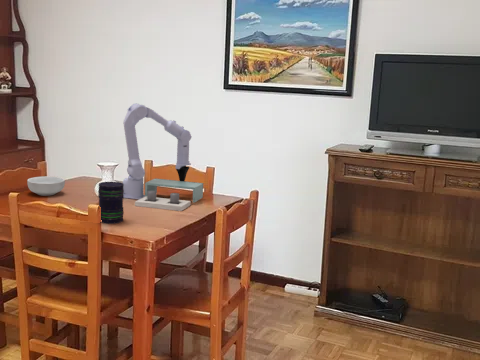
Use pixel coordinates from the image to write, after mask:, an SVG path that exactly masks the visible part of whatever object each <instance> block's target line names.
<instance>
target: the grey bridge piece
mask: <svg viewBox="0 0 480 360" xmlns="http://www.w3.org/2000/svg"><path fill="white" fill-rule="evenodd" d="M144 186H145V187H144V195H145V196H147V191H156V194H158V187H162V188H163V187H165V188H173V189H182V190H183V189H184V190H192V203H196V202H198V201H200V200H201V199H203V198H204V197H203V196H204V182H194V181H186V180H185V181H180V180H176V179H164V178H156V177H155V178H153V179H151V180H149V181H145V184H144Z"/></svg>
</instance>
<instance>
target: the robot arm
mask: <svg viewBox="0 0 480 360" xmlns="http://www.w3.org/2000/svg"><path fill="white" fill-rule="evenodd" d="M126 111H127V112H126V115H125V116H124V119H123V130H124V135H125V136H124V137H125V142H126V149H127V154H128V156H127V157H128V160H127V169H126V171H127V174H128V177H125V178H124V179H123V180H122V183H123V184H124V186H123V188H124V193H123V195H124V196H123V199H134V200H139V199H141V198H143V197H145V194H144V177H145V175H146V172H145V169H144V167H143V164H142V161H141V159H140V153H139V145H138V140H137V139H138V138H137V131H136V125H137V124H138V123H139V122H140V121H141V120H143V119H144V118H147V119H149V118H150V119H151V120H152V121H155V122H156V123H158V124H160V125H161V126H163V129H164V131H166V132H167V133H168V134H170V135H171V136H173V137H175V138H176V139H177V148H176V149H177V150H176V151H177V152H176V164H175V170H176V172H177V175H178V179H179V180H178V181H186V178H187V177H186V176H187V174H188V171H189V170H190V167H189V166H191V165H192V163H190V159H189V158H190V141H191V139H192V134H191V132H190V131H189V130H187V129H185V128H184V126H181V125H180V124H178V123H177V121H176V120H172V119H170V120H167V119H166V118H164V117H163V116H162V115H160V114H159V113H158V112H156V111H155V110H153V109H151V108H149V106H148V107H147V106H146V105H145V104H140V103H133V104H131V105H130V106H129V107H128V108H127V110H126Z"/></svg>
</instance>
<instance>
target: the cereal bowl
mask: <svg viewBox="0 0 480 360" xmlns="http://www.w3.org/2000/svg"><path fill="white" fill-rule="evenodd" d="M65 184H66V180H65V178H64V177H61V176H55V175H54V176H50V175H47V176H45V175H44V176H35V177H30V178H28V179H27V187H28V189H29V190H30V191H31V192H32V193H35V194H37V195H38V196H45V197H47V196H49V197H50V196H54V195H56V194H57V193H59V192H61V191H62V190H63V189H64V188H65V186H66V185H65Z"/></svg>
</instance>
